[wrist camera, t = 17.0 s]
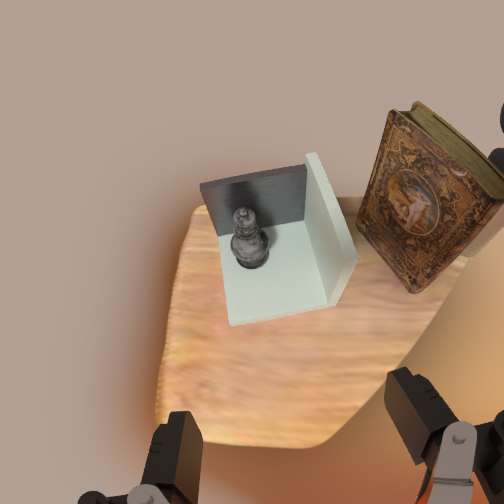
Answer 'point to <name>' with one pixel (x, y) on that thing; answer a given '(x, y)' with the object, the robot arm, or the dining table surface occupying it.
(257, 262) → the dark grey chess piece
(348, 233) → the shelf
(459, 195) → the book
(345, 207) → the dining table surface
